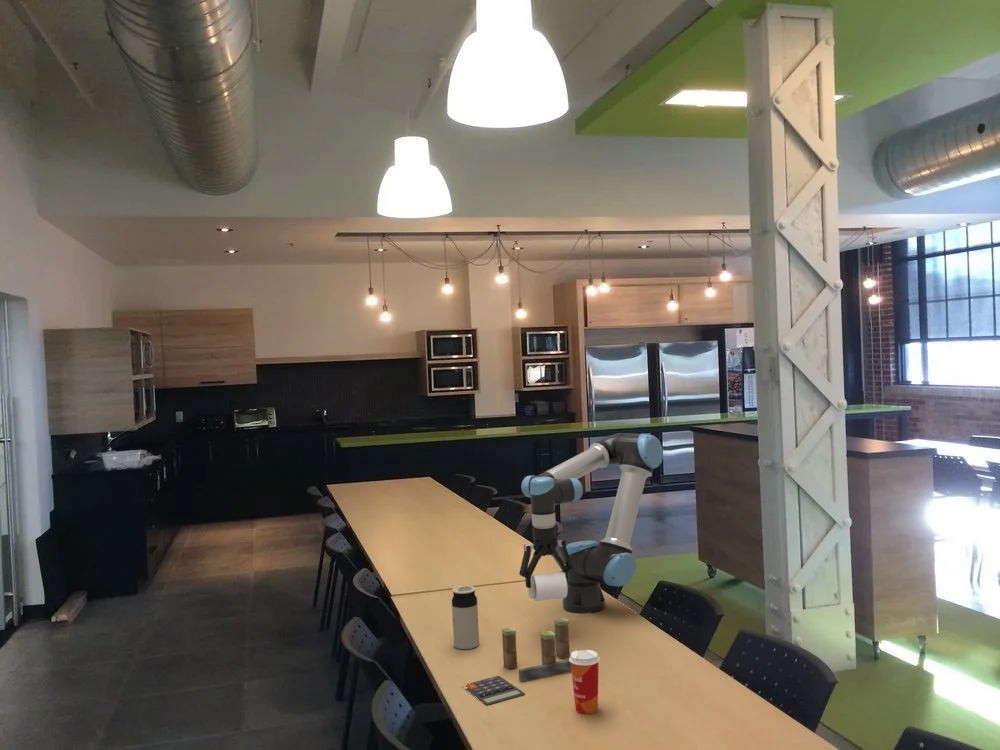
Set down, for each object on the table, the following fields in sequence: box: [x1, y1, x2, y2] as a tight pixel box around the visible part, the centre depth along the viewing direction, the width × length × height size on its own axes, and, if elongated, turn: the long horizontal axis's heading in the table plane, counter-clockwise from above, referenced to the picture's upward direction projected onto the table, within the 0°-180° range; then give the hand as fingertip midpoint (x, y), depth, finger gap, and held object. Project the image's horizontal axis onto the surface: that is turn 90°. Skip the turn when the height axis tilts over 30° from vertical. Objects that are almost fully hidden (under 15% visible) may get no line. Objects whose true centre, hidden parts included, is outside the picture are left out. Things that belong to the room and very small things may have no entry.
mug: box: [531, 571, 568, 602], centre depth 255 cm, size 12×10×8 cm
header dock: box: [501, 617, 572, 683], centre depth 230 cm, size 20×13×11 cm, turn 112°
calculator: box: [466, 675, 526, 707], centre depth 216 cm, size 12×1×15 cm
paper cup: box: [568, 649, 600, 715], centre depth 201 cm, size 8×8×14 cm
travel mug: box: [451, 585, 480, 650], centre depth 251 cm, size 8×8×18 cm
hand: (547, 594), depth 255 cm, fingers closed on mug, 10 cm apart
